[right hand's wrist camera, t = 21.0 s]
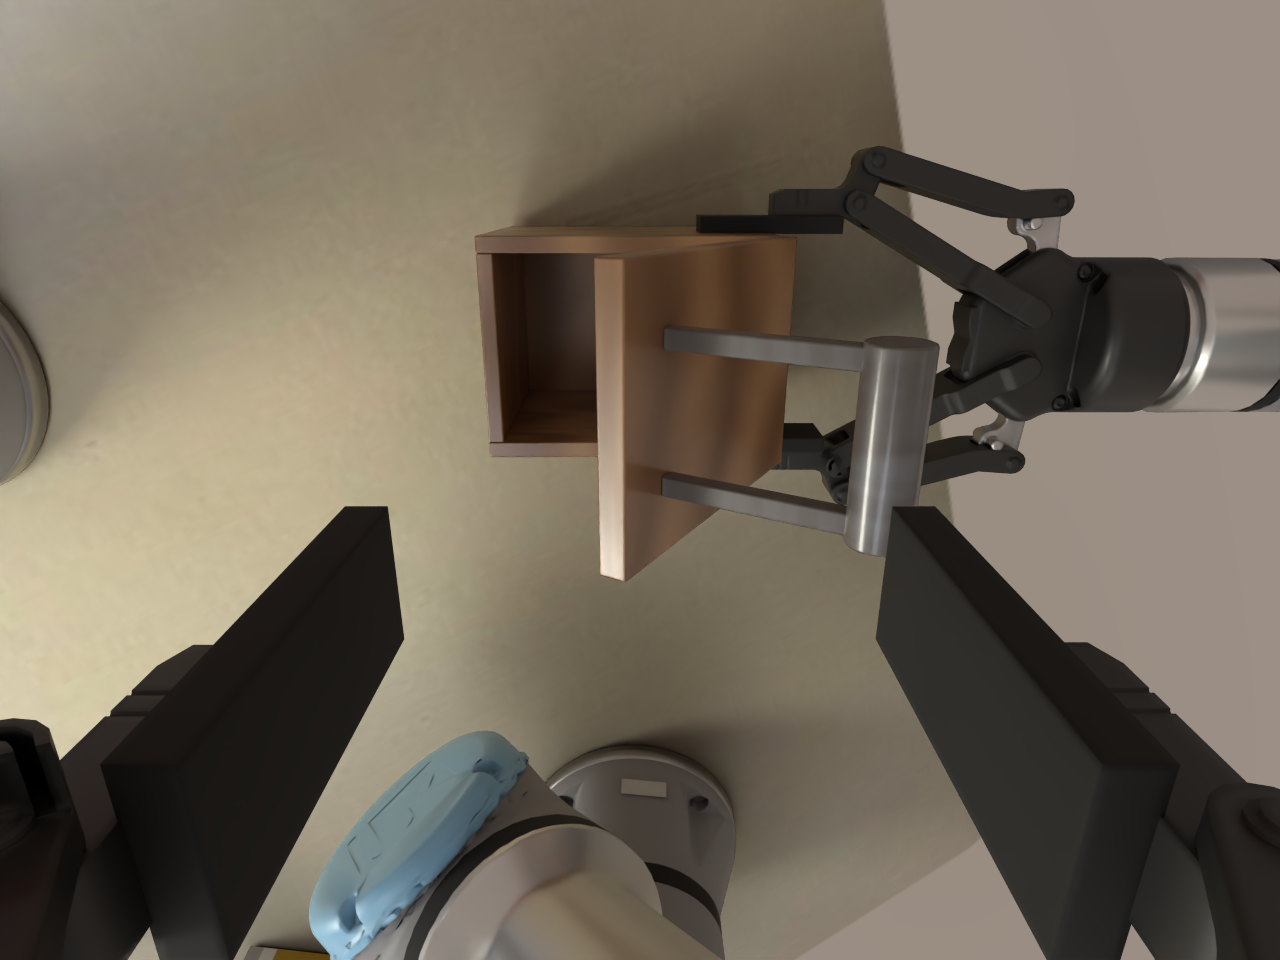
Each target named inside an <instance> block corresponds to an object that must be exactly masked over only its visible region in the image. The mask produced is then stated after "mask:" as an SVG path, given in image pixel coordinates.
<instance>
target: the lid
mask: <svg viewBox="0 0 1280 960" xmlns="http://www.w3.org/2000/svg"><path fill="white" fill-rule="evenodd" d="M796 243H797V238H796V237H777V236H776V237H767V238H758V239H749V240H740V241H730V242H721V243H712V244H703V245H694V246H685V247H676V248H667V249H658V250H649V251H640V252H631V253H622V254H613V255H604V256H597V257H595V259H594V273H595V329H596V384H597V439H598V494H599V549H600V575H602V576H605V577H609V578H612V579H616V580H619V581H623V582H626V581H627V580H629V579H630V578H631V577H633V576H634V575H635V574H637V573H638V572H639V571H640V570H642V569H643V568H644V567H646V566H647V565H648V564H649V563H651V562H652V561H653V560H655V559H656V558H657V557H658V556H660V555H661V554H662V553H664V552H665V551H666V550H667V549H669V548H670V547H671V546H673V545H674V544H675V543H676V542H678V541H679V540H680V539H682V538H683V537H684V536H685V535H687V534H688V533H689V532H691V531H692V530H693V529H695V528H696V527H697V526H698V525H700V524H701V523H702V522H704V521H705V520H706V519H707V518H709V517H710V516H711V515H713V514H714V513H715V512H716V511H718V510H719V509H723V510H728V511H733V512H737V513H742V514H747V515H751V516H756V517H761V518H765V519H770V520H774V521H779V522H784V523H788V524H793V525H798V526H802V527H807V528H811V529H816V530H821V531H825V532H830V533H835V534H839V535H843V539H844V542H845V543H846V545H847V546H848V547H850V548H851V549H853V550H855V551H858V552H860V553H863V554H867V555H872V556H879V557H886V553H887V545H888V537H889V529H890V521H891V513H892V506H918V500H919V493H920V485H921V478H922V471H923V464H924V457H925V450H926V442H927V435H928V428H929V421H930V414H931V406H932V399H933V392H934V385H935V378H936V371H937V363H938V356H939V349H940V347H939V344H938V343H936V342H933V341H930V340H926V339H921V338H913V337H900V336H883V337H873V338H869V339H866V340H865V341H864V342H853V341H842V340H832V339H821V338H810V337H799V336H790V328H791V314H792V300H793V285H794V271H795V257H796ZM788 364H793V365H802V366H811V367H820V368H829V369H838V370H847V371H856V372H860V381H859V391H858V400H857V410H856V420H855V429H854V439H853V448H852V458H851V468H850V477H849V487H848V496H847V506H844V505H839V504H834V503H829V502H824V501H819V500H814V499H809V498H804V497H799V496H793V495H788V494H783V493H778V492H773V491H768V490H763V489H758V488H753V487H749V486H750V485H751V484H753V483H754V482H755V481H756V480H758V479H759V478H760V477H762V476H763V475H764V474H765V473H767V472H768V471H769V470H771V469H772V468H773V467H774V466H776V465H777V464H778V463H780V462H781V456H782V442H783V427H784V413H785V399H786V385H787V371H788Z"/></svg>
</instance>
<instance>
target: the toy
mask: <svg viewBox="0 0 1280 960" xmlns="http://www.w3.org/2000/svg"><path fill="white" fill-rule="evenodd" d="M244 960H330V955H328V954H319V953H310V952H301V951H292V950H282V949H273V948H264V947H255V946H251V947H250V949H249V951H248V952H247V954H246V956H245V958H244Z"/></svg>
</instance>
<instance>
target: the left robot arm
mask: <svg viewBox="0 0 1280 960" xmlns="http://www.w3.org/2000/svg"><path fill="white" fill-rule="evenodd" d="M879 183H883V184H886V185H889V186H893V187H896V188H899V189H902V190H905V191H908V192H912V193H915V194H918V195H921V196H924V197H928V198H931V199H934V200H937V201H940V202H944V203H947V204H950V205H953V206H957V207H960V208H963V209H966V210H969V211H973V212H976V213H979V214H982V215H986V216H991V217H1000V218H1008V221H1007V226H1008V229H1009V231H1010V232H1011V233H1012V234H1014V235H1019V236H1022V237H1023V238H1024V239H1025V240H1026V242H1027V249H1026V250H1024V251H1022V252H1021V253H1019V254H1018V255H1016V256H1015V257H1013V258H1012V259H1011V260H1009V261H1007V262H1006V263H1004V264H1003V265H1001V266H1000V267H999V268H997V269H996V270H994V271H993V270H992V269H990V268H989V267H987V266H985V265H983V264H981V263H979V262H977V261H975V260H973V259H972V258H970V257H969V256H967V255H965V254H964V253H962V252H961V251H959V250H958V249H956V248H955V247H953V246H951V245H950V244H948V243H947V242H945V241H944V240H942V239H941V238H939V237H937V236H936V235H934V234H933V233H931V232H930V231H928V230H926V229H925V228H923V227H922V226H920V225H919V224H917V223H916V222H914V221H912V220H911V219H909V218H908V217H906V216H905V215H903V214H902V213H900V212H898V211H897V210H895V209H894V208H892V207H891V206H889V205H888V204H886V203H884V202H883V201H881V200H880V199H878V198H877V197H875V196H874V194H875V192H876V190H877V187H878V185H879ZM1074 202H1075V200H1074V195H1073V193H1072V192H1071V191H1069V190H1068V189H1031V190H1019V189H1016V188H1013V187H1009V186H1006V185H1003V184H1000V183H997V182H994V181H991V180H987V179H984V178H981V177H978V176H975V175H972V174H968V173H965V172H962V171H959V170H956V169H953V168H950V167H946V166H943V165H940V164H937V163H934V162H931V161H927V160H924V159H921V158H918V157H915V156H912V155H909V154H906V153H902V152H899V151H896V150H893V149H890V148H887V147H884V146H876V147H871V148H866V149H862V150H859V151H857V152H856V153H855V154H854V156H853V157H852V159H851V167H850V170H849V172H848V174H847V177H846V179H845V181H844V182H843V183H842V184H841V185H840V186H839V187H837V188H835V189H780V190H778V191H775V192H773V193H770V194H769V208H768V215H697V219H696V231H698V232H699V233H772V234H843V223H844V218H845V219H846V220H848V221H850V222H851V223H853V224H854V225H856V226H858V227H859V228H861V229H862V230H864V231H865V232H867V233H869V234H870V235H872V236H873V237H875V238H877V239H878V240H880V241H881V242H883V243H884V244H886V245H888V246H889V247H891V248H892V249H894V250H896V251H897V252H899V253H900V254H902V255H904V256H905V257H907V258H908V259H910V260H911V261H913V262H915V263H916V264H918V265H919V266H921V267H923V268H924V269H926V270H927V271H929V272H931V273H932V274H934V275H935V276H937V277H938V278H940V279H941V280H942V281H943V282H944V283H946V284H947V285H949V286H951V287H952V288H954V289H955V290H957V291H959V292H960V293H962V294H963V295H962V297H961V299H960V301H959V302H955V304H954V311H953V324H954V335H953V338H952V340H951V343H950V345H949V347H948V353H947V360H946V363H947V364H949V365H950V367H949V368H947V369H945V370H943V371H941V372H939V373H937V374H936V378H935V385H934V392H933V399H932V406H931V414H930V421H929V426H931V425H933V424H935V423H937V422H939V421H941V420H943V419H945V418H947V417H949V416H951V415H954V414H962V413H965V412H968V411H970V410H972V409H974V408H976V407H978V406H980V405H982V404H984V403H986V404H987V405H989V406H990V407H991V408H992V409H994V410H995V411H996V412H997V413H999V415H998V417H997V419H996V421H995V422H993V423H992V424H990V425H986V426H982V427H979V428H976V429H975V430H974V431H973V436H957V437H952V438H947V439H943V440H939V441H935V442H931V443H928V444H926V450H925V457H924V464H923V471H922V478H921V485H920V486H922V485H926V484H930V483H934V482H938V481H942V480H946V479H950V478H954V477H958V476H962V475H966V474H969V473H974V472H978V471H981V472H995V473H1009V474H1011V473H1016V472H1018V471H1020V470H1021V469H1022V468H1023V467H1024V464H1025V458H1024V455H1023V454H1022V453H1020V452H1019V451H1018V446H1019V442H1020V439H1021V435H1022V431H1023V427H1024V423H1025V421H1028V420H1031V419H1033V418H1035V417H1037V416H1039V415H1041V414H1044V413H1048V412H1134V411H1139V410H1144V411H1146V412H1225V411H1234V412H1249V411H1259V412H1280V259H1279V260H1273V259H1263V258H1165V259H1163V260H1158V259H1155V258H1120V257H1117V258H1115V257H1105V258H1103V257H1071V256H1069V255H1067V254H1065V253H1064V252H1063V251H1061V250H1059V249H1057V247H1058V238H1059V229H1060V221H1061V216H1064V215H1066V214H1067V213H1069V212H1070V211H1071V209H1072V208H1073V205H1074ZM855 420H856V419H855ZM855 420H853V421H851V422H849V423H848V424H846V425H844V426H842V427H840V428H838V429H836V430H834V431H832V432H830V433H828V434H826V435H824V436H822V435H821V433H820V432H819V431H818V429H817V428H816V427H815V425H814V424H813V423H784V427H783V442H782V456H781V462H780V463H778V464H777V465H776V466H774V467H773V468H772V469H771V470H778V469H780V470H786V469H788V470H818V471H820V472H821V475H822V482H823V484H824V486H825V487H826V489H827V490H828V492H829V493H830V495H831V497H832V498H833V500H834V501H835V502H836V503H837V504H840V505H847V496H848V487H849V477H850V468H851V458H852V448H853V439H854V429H855ZM528 760H529V757H528V756H527V755H526V753H524V752H519V751H518V750H517V749H516V748H515V747H514V746H513V745H512V744H511V743H510V742H509V741H508V740H507V739H506V738H505V737H503V736H502V735H500V734H498V733H496V732H491V731H477V732H473V733H469V734H466V735H463V736H461V737H458V738H456V739H454V740H452V741H450V742H449V743H447V744H445V745H444V746H442V747H441V748H439V749H438V750H436V751H434V752H433V753H431V754H430V755H428V756H427V757H425V758H424V759H423V760H422V761H420V762H419V763H418V764H416V765H415V766H414V767H413V768H411V769H410V770H409V771H408V772H407V773H406V774H404V775H403V776H402V777H401V778H400V779H399V780H398V781H397V782H395V783H394V784H393V785H392V786H391V787H390V788H389V789H388V790H387V791H386V792H385V793H384V794H383V795H382V796H381V797H380V798H379V799H378V800H377V801H376V802H375V803H374V804H373V805H372V806H371V807H370V808H369V810H368V811H367V812H366V813H365V814H364V815H363V816H362V817H361V819H360V820H359V821H358V822H357V823H356V825H355V826H354V827H353V828H352V829H351V831H350V832H349V833H348V835H347V836H346V837H345V838H344V840H343V841H342V843H341V844H340V845H339V847H338V848H337V850H336V852H335V853H334V855H333V856H332V857H331V859H330V860H329V862H328V864H327V865H326V867H325V869H324V870H323V872H322V874H321V876H320V878H319V880H318V882H317V885H316V887H315V890H314V892H313V895H312V899H311V902H310V908H309V922H310V927H311V930H312V933H313V935H314V936H315V937H316V939H317V940H318V941H319V942H320V943H321V945H322V946H323V947H324V948H325V949H326V950H327V951H328V953H329V954H330V960H725V956H724V948H723V940H722V932H721V922H720V915H721V911H722V907H723V903H724V899H725V895H726V891H727V887H728V883H729V879H730V875H731V871H732V867H733V863H734V858H735V849H736V831H735V824H734V817H733V811H732V808H731V804H730V802H729V799H728V797H727V795H726V793H725V791H724V790H723V788H722V787H721V785H720V784H719V783H718V781H717V780H716V779H715V778H714V777H713V776H712V775H711V774H710V773H709V772H708V771H707V770H705V769H704V768H703V767H701V766H700V765H699V764H697V763H695V762H694V761H692V760H690V759H688V758H686V757H684V756H682V755H680V754H677V753H675V752H672V751H668V750H665V749H661V748H656V747H650V746H639V745H625V746H615V747H609V748H604V749H600V750H596V751H593V752H590V753H587V754H585V755H582V756H580V757H578V758H576V759H574V760H572V761H571V762H569V763H568V764H566V765H565V766H563V767H562V768H561V769H559V770H558V771H557V772H556V773H555V774H554V775H553V776H552V777H551V778H550V779H549V780H548V781H547V782H546V783H545V782H544V781H543V780H542V779H541V778H540V777H539V775H538V774H537V773H536V772H535V771H534V770H533V768H532V767H531V766H530V765H529V764H528Z"/></svg>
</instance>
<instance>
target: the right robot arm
mask: <svg viewBox="0 0 1280 960" xmlns="http://www.w3.org/2000/svg"><path fill="white" fill-rule="evenodd" d="M48 412H49V409H48V393H47V386H46V382H45V378H44V374H43V371H42V368H41V365H40V362H39V359H38V357H37V355H36V352H35V350H34V348H33V346H32V344H31V343H30V341H29V339H28V337H27V335H26V334H25V332H24V331H23V329H22V328H21V326H20V325H19V323H18V322H17V321H16V319H15V318H14V317H13V315H12V314H11V313H10V312H9V311H8V309H7V308H6V307H5V306H4V305H3V304H2V303H1V302H0V485H2V484H4V483H6V482H8V481H10V480H11V479H13V478H14V477H16V476H17V475H18V474H20V473H21V472H22V471H23V470H24V469H25V468H26V467H27V466H28V465H29V464H30V462H31V461H32V460H33V458H34V457H35V455H36V454H37V452H38V450H39V448H40V446H41V444H42V441H43V438H44V436H45V432H46V427H47V423H48ZM403 640H404V633H403V625H402V617H401V609H400V601H399V593H398V585H397V577H396V569H395V561H394V553H393V545H392V537H391V529H390V521H389V513H388V506H345V507H344V508H343V509H342V510H341V511H340V512H339V513H338V514H337V515H336V516H335V518H334V519H333V520H332V521H331V522H330V523H329V524H328V525H327V526H326V527H325V528H324V529H323V530H322V531H321V532H320V533H319V534H318V535H317V536H316V538H315V539H314V540H313V541H312V542H311V543H310V544H309V545H308V546H307V547H306V548H305V549H304V550H303V551H302V552H301V553H300V554H299V555H298V556H297V557H296V559H295V560H294V561H293V562H292V563H291V564H290V565H289V566H288V567H287V568H286V569H285V570H284V571H283V572H282V573H281V574H280V575H279V576H278V577H277V579H276V580H275V581H274V582H273V583H272V584H271V585H270V586H269V587H268V588H267V589H266V590H265V591H264V592H263V593H262V594H261V595H260V596H259V597H258V599H257V600H256V601H255V602H254V603H253V604H252V605H251V606H250V607H249V608H248V609H247V610H246V611H245V612H244V613H243V614H242V615H241V616H240V617H239V618H238V620H237V621H236V622H235V623H234V624H233V625H232V626H231V627H230V628H229V629H228V630H227V631H226V632H225V633H224V634H223V635H222V636H221V637H220V638H219V640H218V641H217V642H216V643H215V644H214V645H192V646H191V647H189V648H187V649H185V650H184V651H182V652H180V653H179V654H177V655H175V656H173V657H172V658H170V659H168V660H166V661H165V662H163V663H161V664H160V665H158V666H157V667H156V668H154V669H153V670H152V671H151V672H150V673H149V674H148V675H147V676H146V677H145V678H144V679H143V680H142V681H141V682H140V683H139V684H138V685H137V686H136V687H135V688H134V689H133V690H132V694H131V695H127V696H126V697H125V698H124V699H123V700H122V701H121V702H120V703H119V704H117V705H116V706H115V707H114V708H113V709H112V710H111V714H110V716H105V717H104V718H103V719H102V720H101V721H100V722H99V723H98V724H97V725H96V726H95V727H94V728H93V729H92V730H91V731H90V732H89V733H88V734H87V735H86V736H85V737H84V738H83V739H82V740H80V741H79V742H78V743H77V744H76V745H75V746H74V747H73V748H72V749H71V750H70V751H69V752H68V753H67V754H66V755H65V756H64V757H63V758H62V759H61V760H59V757H58V754H57V751H56V748H55V745H54V742H53V739H52V736H51V732H50V729H49V728H48V727H46V726H44V725H43V724H41V723H40V722H38V721H37V720H27V719H16V718H12V719H5V720H0V960H127V959H128V958H129V956H130V955H131V954H132V952H133V951H134V949H135V948H136V946H137V945H138V943H139V942H140V940H141V939H142V937H143V936H144V934H145V933H146V931H147V930H148V928H149V927H150V930H151V933H152V936H153V940H154V943H155V946H156V949H157V953H158V956H159V959H160V960H233V959H234V957H235V956H236V954H237V952H238V950H239V948H240V946H241V944H242V942H243V941H244V939H245V937H246V935H247V933H248V931H249V929H250V927H251V926H252V924H253V922H254V920H255V918H256V916H257V914H258V912H259V911H260V909H261V907H262V905H263V903H264V901H265V899H266V897H267V896H268V894H269V892H270V890H271V888H272V886H273V884H274V882H275V881H276V879H277V877H278V875H279V873H280V871H281V869H282V867H283V865H284V864H285V862H286V860H287V858H288V856H289V854H290V852H291V850H292V849H293V847H294V845H295V843H296V841H297V839H298V837H299V835H300V834H301V832H302V830H303V828H304V826H305V824H306V822H307V820H308V819H309V817H310V815H311V813H312V811H313V809H314V807H315V805H316V804H317V802H318V800H319V798H320V796H321V794H322V792H323V790H324V789H325V787H326V785H327V783H328V781H329V779H330V777H331V775H332V774H333V772H334V770H335V768H336V766H337V764H338V762H339V760H340V758H341V757H342V755H343V753H344V751H345V749H346V747H347V745H348V743H349V742H350V740H351V738H352V736H353V734H354V732H355V730H356V728H357V727H358V725H359V723H360V721H361V719H362V717H363V715H364V713H365V712H366V710H367V708H368V706H369V704H370V702H371V700H372V698H373V697H374V695H375V693H376V691H377V689H378V687H379V685H380V683H381V682H382V680H383V678H384V676H385V674H386V672H387V670H388V668H389V667H390V665H391V663H392V661H393V659H394V657H395V655H396V653H397V651H398V650H399V648H400V646H401V644H402V642H403ZM876 640H877V642H878V644H879V646H880V648H881V650H882V651H883V653H884V655H885V657H886V659H887V661H888V663H889V665H890V666H891V668H892V670H893V672H894V674H895V676H896V678H897V680H898V682H899V683H900V685H901V687H902V689H903V691H904V693H905V695H906V697H907V698H908V700H909V702H910V704H911V706H912V708H913V710H914V712H915V713H916V715H917V717H918V719H919V721H920V723H921V725H922V727H923V728H924V730H925V732H926V734H927V736H928V738H929V740H930V742H931V743H932V745H933V747H934V749H935V751H936V753H937V755H938V757H939V758H940V760H941V762H942V764H943V766H944V768H945V770H946V772H947V773H948V775H949V777H950V779H951V781H952V783H953V785H954V787H955V789H956V790H957V792H958V794H959V796H960V798H961V800H962V802H963V804H964V805H965V807H966V809H967V811H968V813H969V815H970V817H971V819H972V820H973V822H974V824H975V826H976V828H977V830H978V832H979V834H980V835H981V837H982V839H983V841H984V843H985V845H986V847H987V848H988V850H989V852H990V854H991V856H992V858H993V860H994V862H995V864H996V865H997V867H998V869H999V871H1000V873H1001V875H1002V877H1003V879H1004V880H1005V882H1006V884H1007V886H1008V888H1009V890H1010V892H1011V894H1012V895H1013V897H1014V899H1015V901H1016V903H1017V905H1018V907H1019V909H1020V911H1021V912H1022V914H1023V916H1024V918H1025V920H1026V922H1027V924H1028V926H1029V927H1030V929H1031V931H1032V933H1033V935H1034V937H1035V939H1036V941H1037V942H1038V944H1039V946H1040V948H1041V950H1042V952H1043V954H1044V956H1045V957H1046V959H1047V960H1120V959H1121V956H1122V953H1123V949H1124V946H1125V943H1126V940H1127V936H1128V933H1129V930H1130V926H1131V924H1132V926H1133V927H1134V929H1135V930H1136V932H1137V933H1138V934H1139V936H1140V937H1141V939H1142V940H1143V942H1144V943H1145V945H1146V946H1147V948H1148V949H1149V951H1150V952H1151V954H1152V955H1153V957H1154V958H1155V960H1280V789H1278V788H1275V787H1271V786H1265V785H1258V784H1252V783H1247V782H1246V781H1245V780H1244V779H1243V778H1242V777H1241V776H1240V775H1239V774H1238V773H1237V772H1236V771H1234V770H1233V769H1232V768H1231V767H1230V766H1229V765H1228V764H1227V763H1226V762H1225V761H1224V760H1223V759H1222V758H1221V757H1220V756H1219V755H1218V754H1217V753H1216V752H1215V751H1214V750H1213V749H1212V748H1211V747H1210V746H1209V745H1208V744H1207V743H1205V742H1204V741H1203V740H1202V739H1201V738H1200V737H1199V736H1198V735H1197V734H1196V733H1195V732H1194V731H1193V730H1192V729H1191V728H1190V727H1189V726H1188V725H1187V724H1186V723H1185V722H1184V721H1183V720H1182V719H1181V718H1180V717H1179V716H1178V715H1177V714H1171V712H1170V708H1169V707H1168V706H1167V705H1166V704H1165V703H1164V702H1163V701H1162V700H1161V699H1160V698H1159V697H1158V696H1157V695H1156V694H1155V693H1150V692H1149V687H1148V686H1146V685H1145V684H1144V683H1143V682H1142V681H1141V680H1140V679H1139V678H1138V677H1137V676H1136V675H1135V674H1134V673H1133V672H1132V671H1131V670H1130V669H1129V668H1128V667H1127V666H1126V665H1125V664H1124V663H1122V662H1120V661H1119V660H1117V659H1115V658H1113V657H1112V656H1110V655H1108V654H1107V653H1105V652H1103V651H1101V650H1100V649H1098V648H1096V647H1094V646H1093V645H1091V644H1089V643H1087V642H1063V641H1062V640H1061V638H1060V637H1059V636H1058V635H1057V634H1056V633H1055V632H1054V631H1053V630H1052V629H1051V628H1050V627H1049V626H1048V625H1047V624H1046V623H1045V622H1044V621H1043V620H1042V619H1041V617H1039V615H1038V614H1037V613H1036V612H1035V611H1034V610H1033V609H1032V608H1031V607H1030V606H1029V605H1028V604H1027V603H1026V602H1025V601H1024V600H1023V599H1022V597H1021V596H1020V595H1019V594H1018V593H1017V592H1016V591H1015V590H1014V589H1013V588H1012V587H1011V586H1010V585H1009V584H1008V583H1007V582H1006V581H1005V580H1004V579H1003V577H1002V576H1001V575H1000V574H999V573H998V572H997V571H996V570H995V569H994V568H993V567H992V566H991V565H990V564H989V563H988V562H987V561H986V560H985V559H984V557H983V556H982V555H981V554H980V553H979V552H978V551H977V550H976V549H975V548H974V547H973V546H972V545H971V544H970V543H969V542H968V541H967V540H966V539H965V538H964V536H963V535H962V534H961V533H960V532H959V531H958V530H957V529H956V528H955V527H954V526H953V525H952V524H951V523H950V522H949V521H948V520H947V519H946V518H945V516H944V515H943V514H942V513H941V512H940V511H939V510H938V509H937V508H936V507H935V506H892V513H891V521H890V529H889V537H888V545H887V553H886V561H885V569H884V577H883V585H882V593H881V601H880V609H879V617H878V625H877V633H876Z"/></svg>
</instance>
